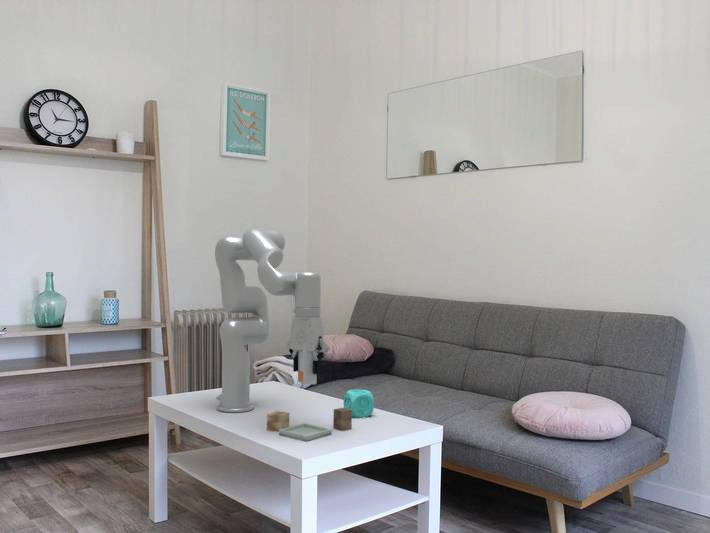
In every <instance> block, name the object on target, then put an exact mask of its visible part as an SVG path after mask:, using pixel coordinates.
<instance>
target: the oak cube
mask: <svg viewBox="0 0 710 533" xmlns="http://www.w3.org/2000/svg"><path fill="white" fill-rule="evenodd" d="M288 427H290V412H287V411H279V410H275V411H274V410H273V411H271V412H269V413H267V414H266V431H269V432H278V433H279V430H280V429H284V428H288Z"/></svg>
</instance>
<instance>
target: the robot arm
mask: <svg viewBox="0 0 710 533" xmlns="http://www.w3.org/2000/svg"><path fill="white" fill-rule="evenodd" d="M284 236H285V235H284V234H283V233H282V232H281V231H280V230H278V229H276V228H262V227H259V228H258V227H253V228H249V229H247V230H246V231H245V232H244V233H243V234H242V235H234V234H233V235H226V236H223V237H220V239H218V240H217V242H216V245H215V249H214V258H215V263H216V266H217V269H218V270H217V271H218V274H219V280H220V281H219V282H220V292H221V294H220V295H221V304H222V309H223V311H224V312H225V313H227V314H230V315H231V314H232V315H234V314H235V315H237V314H238V315H239V314H240V315H241V314H243V315H244V314H249V316H248V317H245V316H244V317H243V316H241V317H239V316H238V317H230V318H227V319H225V320H223V322H221V325H220V326H219V336H220V342H221V344H220V345H221V353H222V354H221V355H222V357H221V358H222V359H221V361H222V362H221V363H222V364H221V365H222V366H221V368H222V369H221V393H219V395H216V397H215V399H216V400H217V401H219V404H217V405H216V410H218V411H220V412H222V413H224V412H225V413H244V412H250V411H252V410H254V408H255V405H254V404H253V403H251V402H250V393H251V392H250V388H251V387H250V386H251V384H250V383H251V382H250V381H251V380H250V379H251V372H250V371H251V356H250V354H249V352H248V350H247V348H246V347H245V346H246V345H259V344H263V343H265V342H266V341H267V340H268V338H269V335H270V322H269V309H268V299H267V295H266V294H265V291H264V290H263V289H262V288H260V287H258V286H247V285H246V279H245V277H246V276H245V275H246V274H245V273H244V270H243V269H242V267H241V265H240V264H239V263H238V262H237V261H255V262H256V263H257V264H258V266H257V277H258V280H259V283H260V284H261V286H263V288H264V289H265V290H266V291H267V292H268V293H270V294H271V295H272V296H277V297H279V296H282V297H283V296H292V297H293V296H295V297H294V298H295V300H294V302H295V303H294V305H295V306H294V307H295V308H294V309H293V313H294V317H293V318H292V322H291V325H290V335H289V336H290V337H289V338H290V339H289V340H288V342H287V343H286V347H287V349H288V350H289V354H290V355H291V359H293V361H292V362H293V363H292V366H293V367H292V368H293V370H292V371H293V372H298V351H303V345H304V344H305V345H306V351H307V352H312V354H313V357H314V359H315V360H314V361H313V374H317V375H319V374H321V373H322V361H323V360H324V358H325V357H326V355H327V353H328V351H329V350H330V347H329V346H328V344H327V343H326V341H325V339H324V338H325V337H324V335H325V334H324V325H323V320H322V317H321V275H320V273H319V272H316V271H315V272H314V271H312V272H311V271H302V270H301V271H298V270H295V271H294V270H276V269H277V268H279V266H280V265H281V264H282V262H283V260H284V252H283V250H284V249H285V246H286V239H285V237H284ZM316 352H317V353H316Z"/></svg>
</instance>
